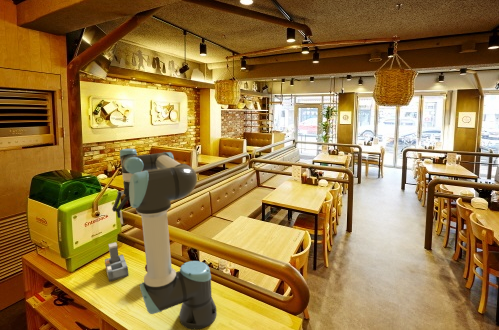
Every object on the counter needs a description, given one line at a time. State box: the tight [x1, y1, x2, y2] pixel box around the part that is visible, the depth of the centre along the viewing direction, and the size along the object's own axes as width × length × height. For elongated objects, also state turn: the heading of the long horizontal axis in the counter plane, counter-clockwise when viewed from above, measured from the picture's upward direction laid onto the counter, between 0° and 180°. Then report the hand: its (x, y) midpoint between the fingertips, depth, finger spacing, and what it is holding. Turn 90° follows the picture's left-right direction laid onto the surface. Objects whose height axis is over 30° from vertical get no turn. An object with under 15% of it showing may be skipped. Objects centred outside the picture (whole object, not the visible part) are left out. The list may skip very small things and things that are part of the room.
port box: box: [104, 254, 130, 283], centre depth 148 cm, size 14×9×5 cm, turn 33°
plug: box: [108, 241, 119, 264], centre depth 150 cm, size 4×4×13 cm
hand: (136, 220), depth 145 cm, fingers open, 13 cm apart
